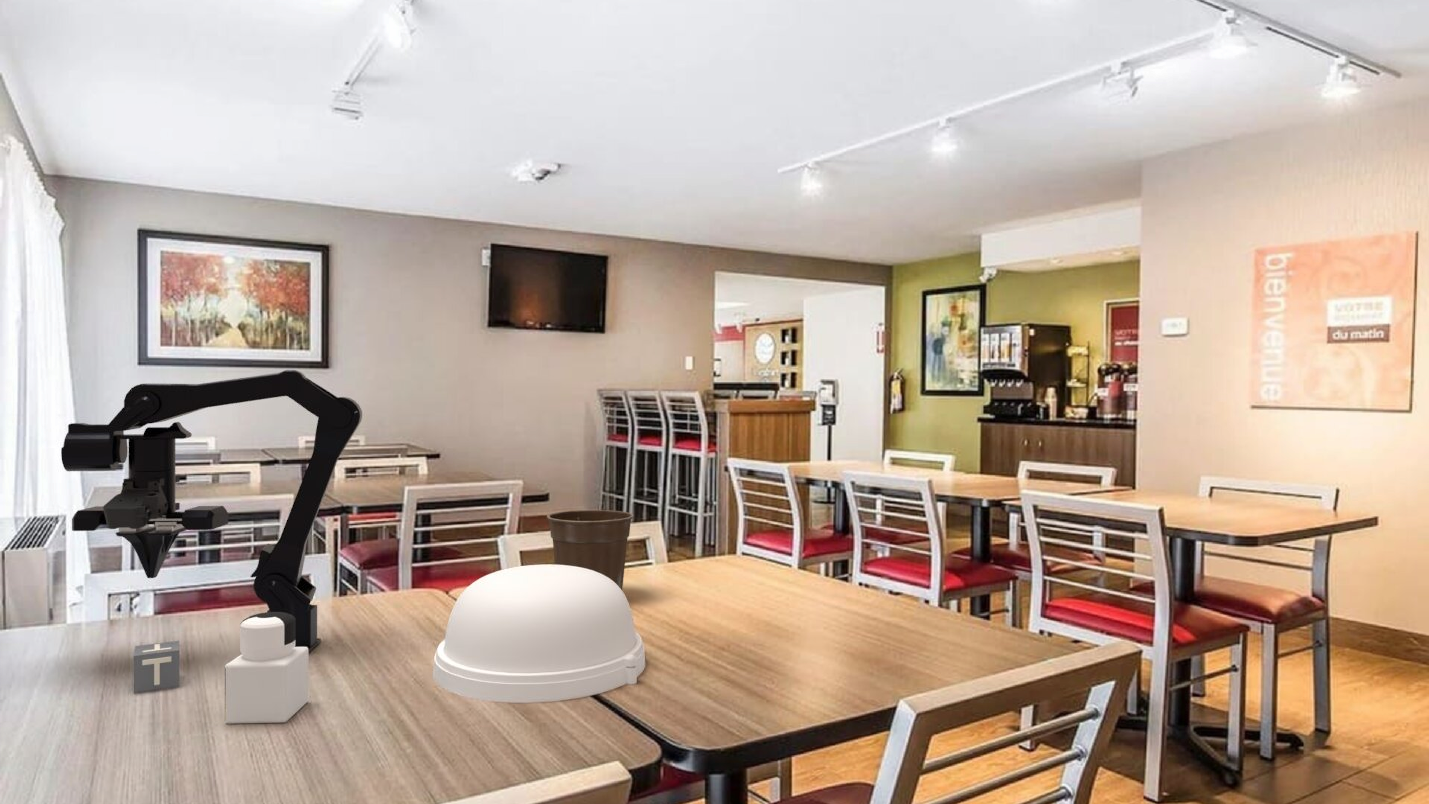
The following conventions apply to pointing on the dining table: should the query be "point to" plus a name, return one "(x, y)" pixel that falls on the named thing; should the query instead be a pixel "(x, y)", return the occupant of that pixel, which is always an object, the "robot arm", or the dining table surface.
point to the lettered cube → (156, 667)
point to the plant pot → (592, 540)
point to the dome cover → (539, 637)
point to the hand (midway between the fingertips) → (152, 577)
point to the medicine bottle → (266, 672)
